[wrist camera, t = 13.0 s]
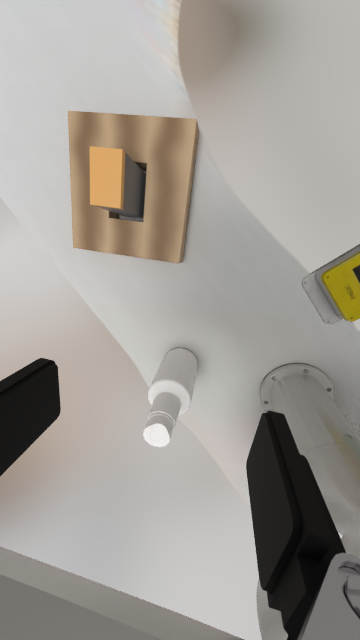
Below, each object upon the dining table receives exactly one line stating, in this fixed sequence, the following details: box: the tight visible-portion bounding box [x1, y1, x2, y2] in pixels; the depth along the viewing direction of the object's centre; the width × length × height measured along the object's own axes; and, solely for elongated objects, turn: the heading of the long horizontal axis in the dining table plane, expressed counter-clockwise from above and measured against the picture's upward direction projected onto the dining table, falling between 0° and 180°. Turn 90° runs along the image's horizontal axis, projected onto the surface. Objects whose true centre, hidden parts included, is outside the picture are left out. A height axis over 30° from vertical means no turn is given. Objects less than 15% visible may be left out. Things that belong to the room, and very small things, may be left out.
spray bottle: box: [143, 348, 198, 447], centre depth 34 cm, size 7×7×18 cm
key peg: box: [90, 146, 146, 219], centre depth 30 cm, size 4×6×10 cm, turn 173°
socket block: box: [68, 111, 199, 263], centre depth 33 cm, size 18×18×4 cm
